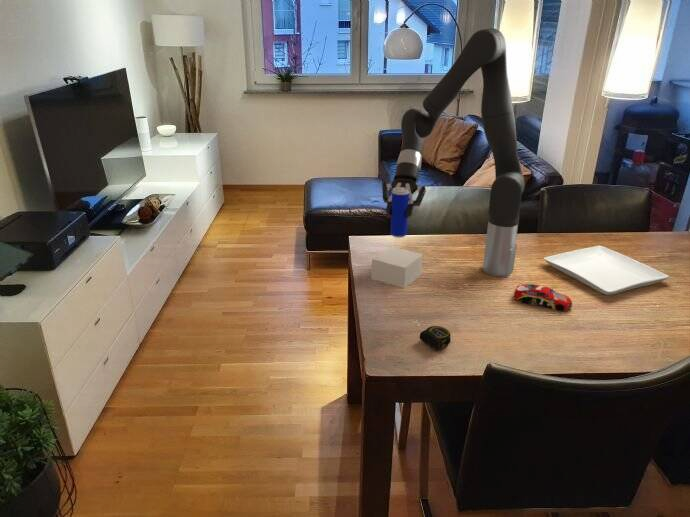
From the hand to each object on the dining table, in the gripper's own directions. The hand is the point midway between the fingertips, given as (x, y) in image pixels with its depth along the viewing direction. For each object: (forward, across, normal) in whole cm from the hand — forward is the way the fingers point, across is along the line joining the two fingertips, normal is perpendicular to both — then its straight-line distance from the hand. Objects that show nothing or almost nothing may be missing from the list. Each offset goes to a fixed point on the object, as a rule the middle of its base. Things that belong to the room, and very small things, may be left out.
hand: (398, 215), depth 161 cm
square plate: (-1, +64, +33) cm, 72 cm away
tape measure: (+39, +18, -9) cm, 44 cm away
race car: (+17, +45, +14) cm, 50 cm away
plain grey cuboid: (+14, 0, +16) cm, 22 cm away
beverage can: (+4, 0, +6) cm, 8 cm away
